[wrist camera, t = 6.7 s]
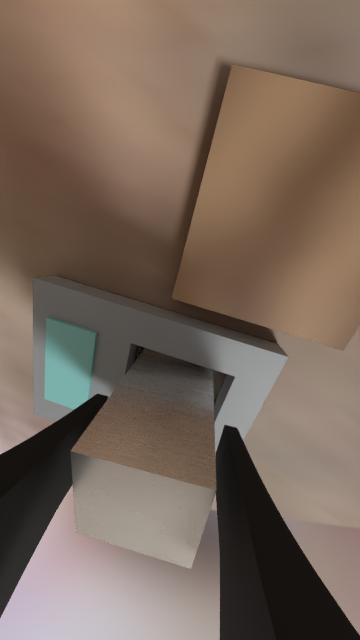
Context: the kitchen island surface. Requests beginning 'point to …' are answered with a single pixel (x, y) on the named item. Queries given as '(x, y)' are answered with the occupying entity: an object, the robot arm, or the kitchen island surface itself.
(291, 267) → the brown square plate
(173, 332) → the hole plate
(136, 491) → the steel peg
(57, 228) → the kitchen island surface
